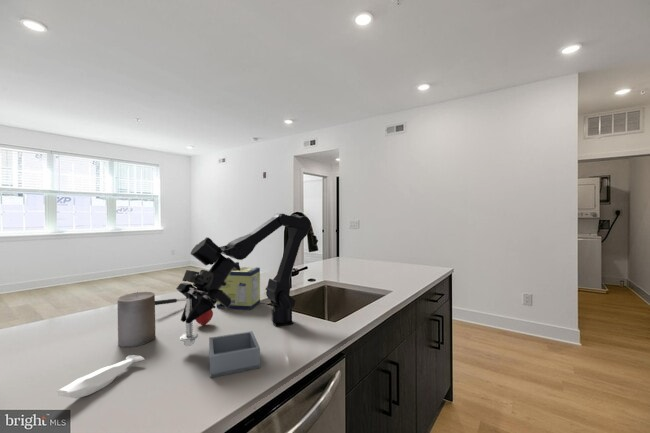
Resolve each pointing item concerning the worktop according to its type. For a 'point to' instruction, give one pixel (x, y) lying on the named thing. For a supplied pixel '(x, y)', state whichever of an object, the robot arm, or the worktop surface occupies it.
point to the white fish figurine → (96, 379)
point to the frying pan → (169, 301)
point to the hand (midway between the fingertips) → (184, 322)
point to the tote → (233, 353)
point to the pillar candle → (136, 319)
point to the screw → (189, 327)
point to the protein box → (243, 288)
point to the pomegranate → (205, 318)
